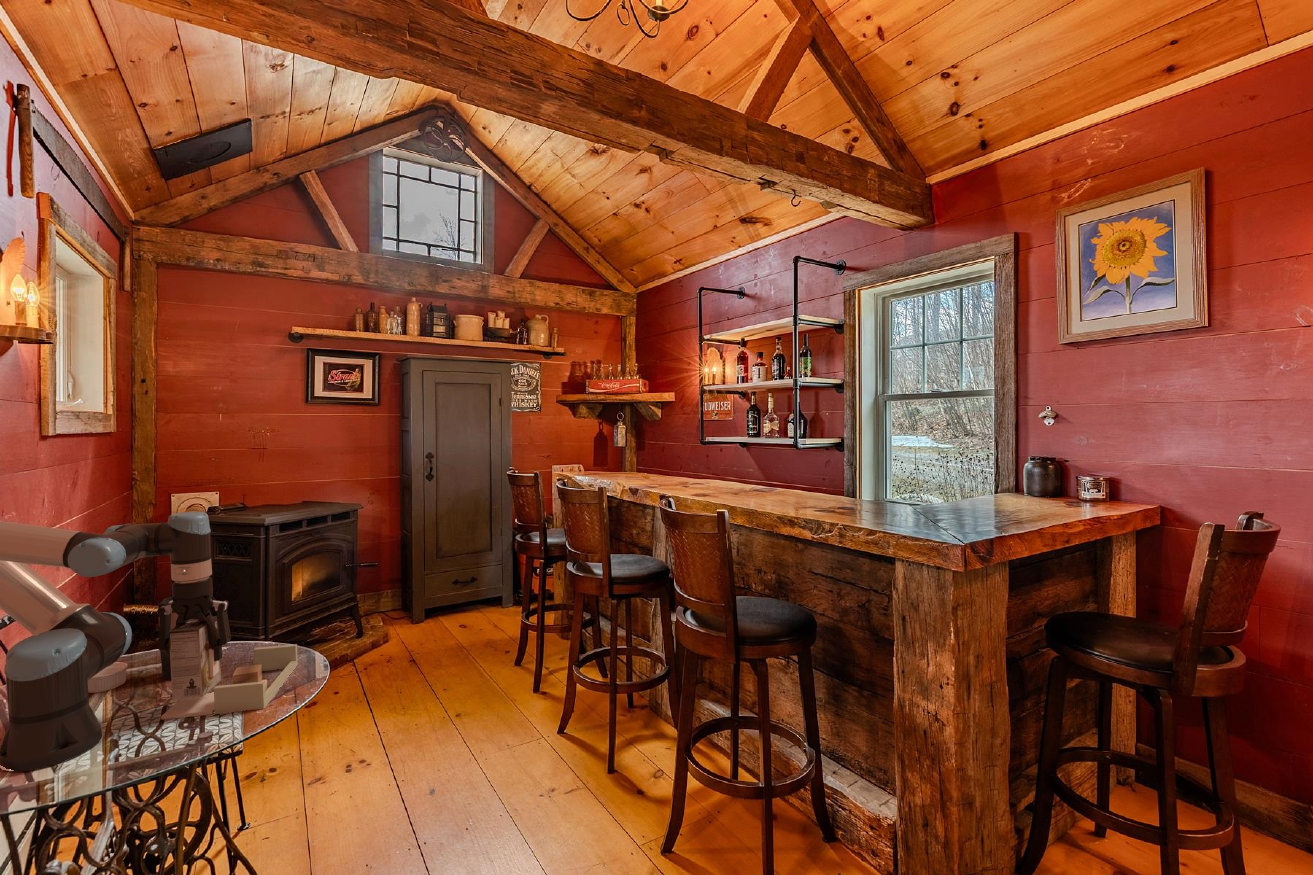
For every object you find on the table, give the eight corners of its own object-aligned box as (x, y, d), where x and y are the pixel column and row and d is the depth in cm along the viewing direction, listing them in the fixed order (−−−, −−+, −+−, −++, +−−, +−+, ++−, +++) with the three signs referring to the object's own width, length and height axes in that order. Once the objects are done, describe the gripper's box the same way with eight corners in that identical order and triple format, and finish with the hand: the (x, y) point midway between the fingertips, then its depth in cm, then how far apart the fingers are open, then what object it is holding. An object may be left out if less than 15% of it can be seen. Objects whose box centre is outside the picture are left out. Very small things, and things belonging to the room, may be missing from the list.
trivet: (161, 719, 138) (161, 716, 138) (184, 698, 148) (183, 695, 148) (212, 714, 140) (212, 710, 140) (231, 694, 150) (231, 690, 150)
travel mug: (203, 672, 162) (200, 597, 161) (168, 683, 156) (164, 606, 155) (190, 665, 166) (187, 593, 165) (156, 676, 160) (152, 600, 159)
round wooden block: (131, 685, 155) (130, 668, 155) (84, 697, 148) (83, 680, 148) (124, 675, 161) (123, 658, 161) (78, 687, 154) (77, 670, 154)
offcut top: (233, 692, 143) (232, 675, 143) (237, 683, 147) (236, 667, 147) (258, 688, 145) (257, 671, 145) (261, 680, 149) (261, 664, 149)
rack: (214, 713, 140) (213, 688, 140) (256, 669, 164) (255, 647, 163) (263, 708, 143) (262, 683, 142) (297, 665, 166) (296, 644, 166)
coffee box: (191, 682, 147) (188, 617, 147) (222, 680, 149) (219, 615, 148) (171, 700, 139) (167, 631, 138) (203, 697, 140) (200, 628, 139)
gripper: (133, 586, 136) (139, 687, 138) (232, 580, 141) (237, 678, 142) (152, 577, 144) (157, 673, 145) (246, 571, 148) (250, 664, 150)
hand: (196, 675), depth 144 cm, fingers closed on coffee box, 6 cm apart
